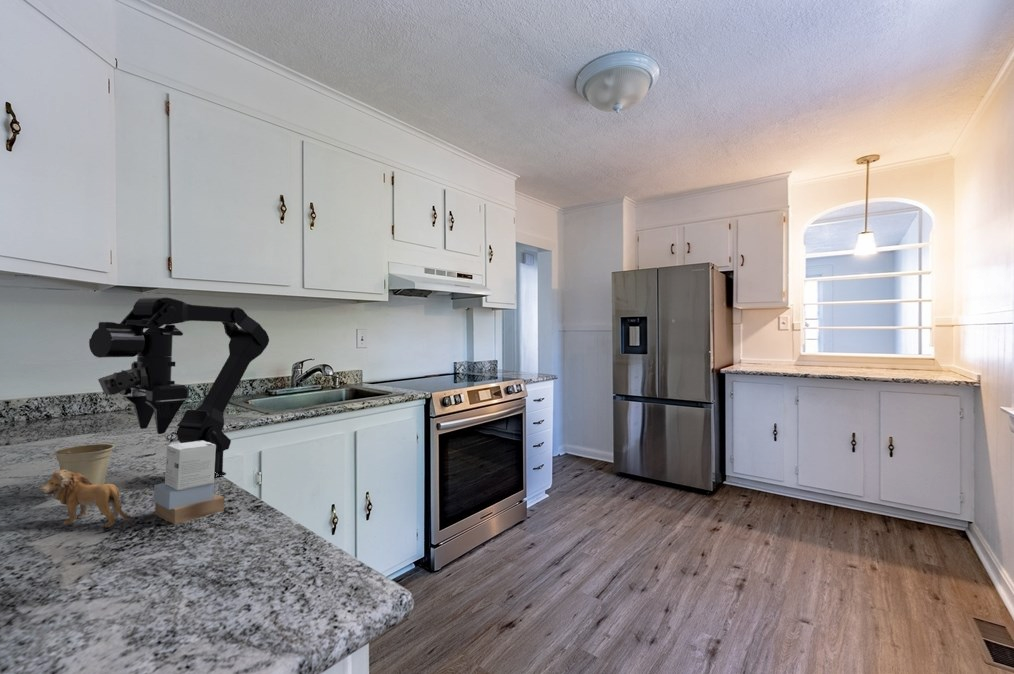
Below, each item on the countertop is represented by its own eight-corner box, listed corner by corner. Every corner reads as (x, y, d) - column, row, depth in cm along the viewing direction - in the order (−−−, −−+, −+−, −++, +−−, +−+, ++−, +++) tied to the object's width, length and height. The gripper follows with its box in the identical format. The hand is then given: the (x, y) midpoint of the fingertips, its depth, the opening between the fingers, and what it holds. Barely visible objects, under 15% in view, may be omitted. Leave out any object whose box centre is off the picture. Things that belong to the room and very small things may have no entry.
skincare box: (163, 484, 81) (165, 444, 81) (201, 477, 86) (203, 439, 86) (176, 491, 77) (178, 449, 78) (215, 483, 82) (216, 443, 83)
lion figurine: (32, 527, 74) (35, 474, 74) (63, 515, 80) (66, 465, 80) (120, 528, 75) (122, 475, 75) (145, 516, 80) (147, 466, 80)
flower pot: (83, 497, 89) (85, 454, 89) (38, 496, 89) (40, 453, 89) (125, 483, 98) (126, 444, 98) (83, 482, 98) (85, 443, 99)
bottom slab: (203, 504, 88) (203, 489, 88) (223, 513, 83) (224, 497, 83) (154, 517, 81) (155, 500, 81) (174, 527, 76) (175, 509, 77)
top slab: (197, 491, 86) (197, 476, 86) (213, 498, 82) (214, 482, 82) (153, 501, 80) (154, 484, 81) (169, 509, 77) (169, 492, 77)
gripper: (89, 355, 91) (86, 431, 90) (121, 358, 80) (118, 443, 80) (154, 355, 100) (152, 424, 100) (191, 357, 90) (188, 434, 89)
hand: (152, 431), depth 92 cm, fingers open, 9 cm apart
